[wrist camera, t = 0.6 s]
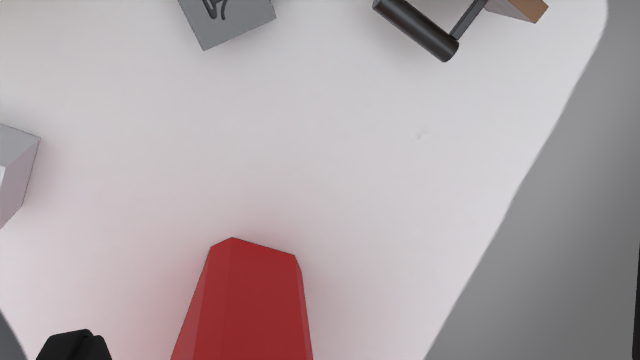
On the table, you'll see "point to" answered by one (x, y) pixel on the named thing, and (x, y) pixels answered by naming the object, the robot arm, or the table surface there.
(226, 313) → the book
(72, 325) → the table surface
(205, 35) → the dice cube
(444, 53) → the drawer
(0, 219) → the white cube
